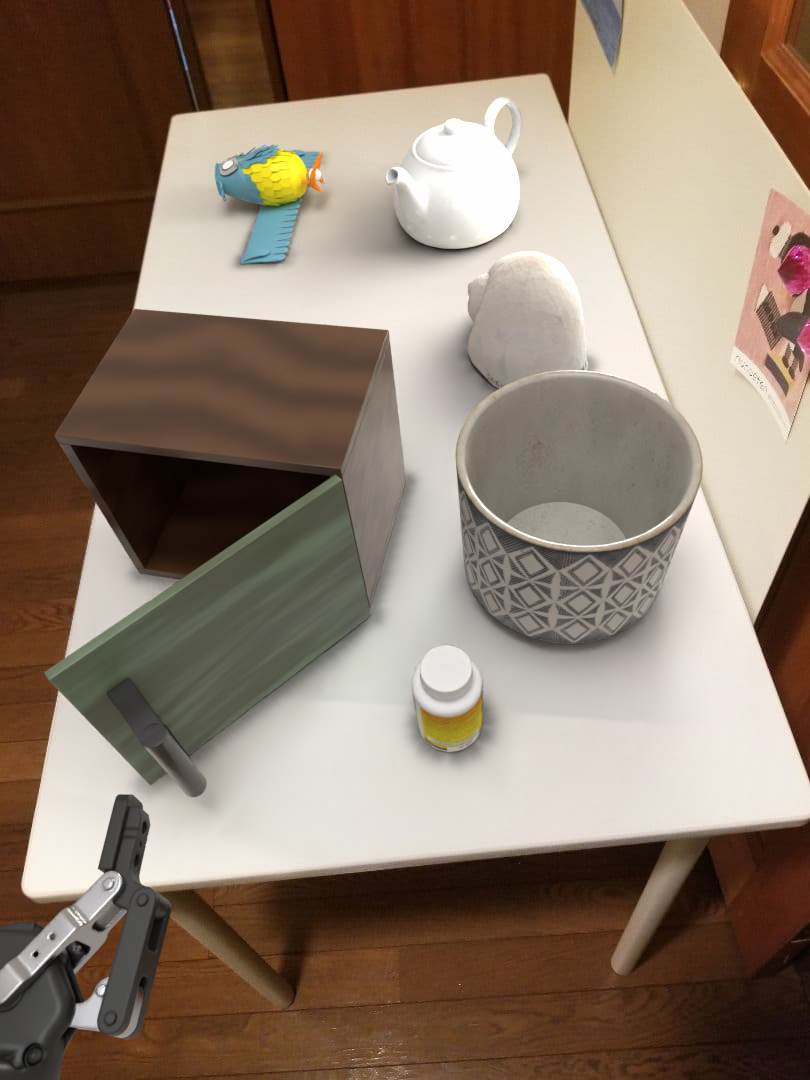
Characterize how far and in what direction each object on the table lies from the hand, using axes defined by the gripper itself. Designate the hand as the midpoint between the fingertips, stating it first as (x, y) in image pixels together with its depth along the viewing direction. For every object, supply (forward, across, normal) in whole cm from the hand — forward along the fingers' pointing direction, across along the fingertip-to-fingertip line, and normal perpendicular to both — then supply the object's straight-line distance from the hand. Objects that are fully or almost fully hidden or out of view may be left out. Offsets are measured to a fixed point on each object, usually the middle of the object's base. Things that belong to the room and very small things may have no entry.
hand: (51, 796), depth 42 cm
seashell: (+62, -28, +25) cm, 73 cm away
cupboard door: (+15, -5, +25) cm, 30 cm away
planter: (+31, -30, +25) cm, 50 cm away
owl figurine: (+95, +6, +26) cm, 99 cm away
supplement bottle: (+15, -20, +25) cm, 35 cm away
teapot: (+90, -20, +26) cm, 96 cm away
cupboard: (+36, -2, +25) cm, 44 cm away
